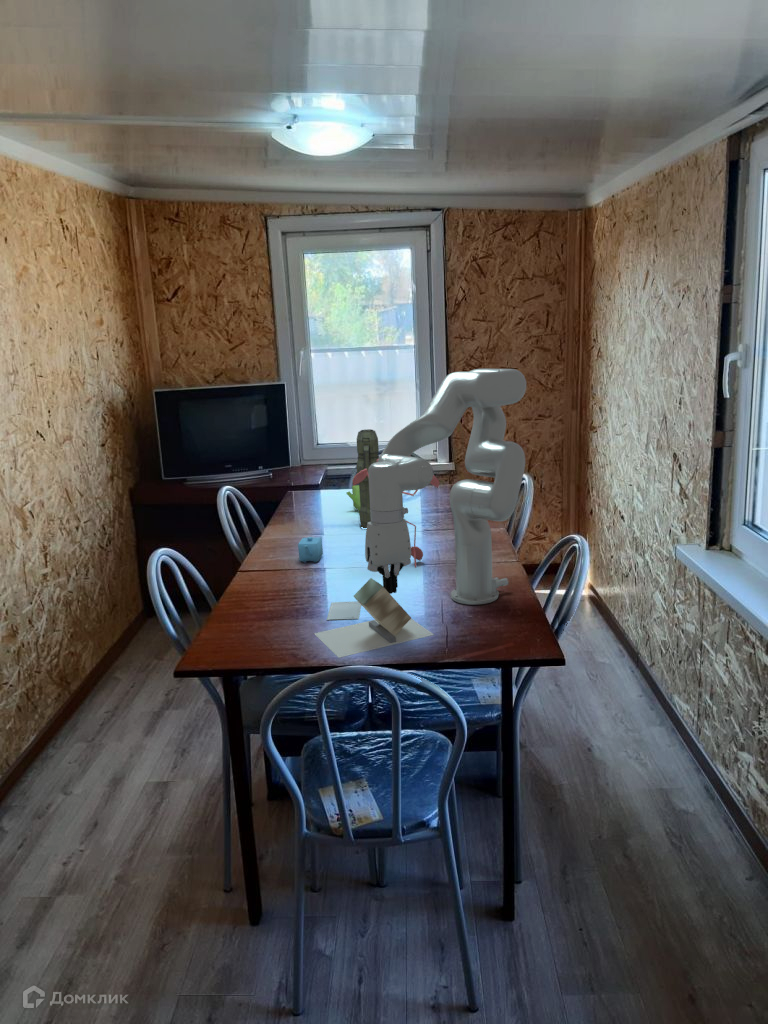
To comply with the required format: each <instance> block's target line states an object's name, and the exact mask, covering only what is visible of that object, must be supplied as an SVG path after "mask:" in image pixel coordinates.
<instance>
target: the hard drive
mask: <svg viewBox="0 0 768 1024" xmlns="http://www.w3.org/2000/svg"><path fill="white" fill-rule="evenodd" d="M362 607H363V606H362V605H361V604H360V603H359V602H358V601H357V600H356V601H334V602H331V603H330V606H329V610H328V613H327V617H326V622H329V621H333V622H334V621H350V620H351V621H352V620H353V621H354V620H356V621H357V620H360V614H361V608H362Z"/></svg>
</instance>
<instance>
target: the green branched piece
mask: <svg viewBox="0 0 768 1024" xmlns="http://www.w3.org/2000/svg"><path fill="white" fill-rule="evenodd" d="M351 490H352V491H350V490H349V491H347V492H346V495H347V496H348V497H349V498H350V499H351V500H352V504H353V505H352V506H353V507H354V508H356V510H357V509H358V510H359V511H360V492H359V484H357V485H355V486H353V485H351ZM359 511H358V512H359Z"/></svg>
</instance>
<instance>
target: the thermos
mask: <svg viewBox="0 0 768 1024" xmlns="http://www.w3.org/2000/svg"><path fill="white" fill-rule="evenodd" d="M356 451H357V452H356V453H357V460H356V461H357V462H356V474H357V473H359V472H360V471H362V470H364V469H367V471H368V469H369V466H370V465H371V464H373V463H376V462H377V459H379V457H380V455H379V452H380V451H379V438H378V435H377V432H376V430H374V429H361V430H359V431H358V432H357V436H356ZM358 485H359V492H360V511H358V512H359V513H358V514H359V521H360V522H359V523H360V528H361V527H363V528H367V523H368V522H371V514H370V495H369V478H368V476H366V478H365V479H364V480H363V481H362V482H360V483H358Z"/></svg>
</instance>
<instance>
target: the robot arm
mask: <svg viewBox="0 0 768 1024" xmlns="http://www.w3.org/2000/svg"><path fill="white" fill-rule="evenodd" d="M526 390H527V380H526V377H525V375H524V374H523V373H522V371H520V370H518V369H517V368H516V369H515V368H486V367H484V368H475V369H471V370H469V371H454V372H451V373H449V374H447V375H446V376H445V377H444V378H443V380H442V382H441V383H440V385H439V386H438V388H437V389H436V391H435V393H434V395H433V396H432V398H431V400H430V401H429V403H428V405H427V406H426V408H425V409H424V411H423V413H422V414H421V415H419V417H418V418H416V419H415V420H413V421H411V422H410V423H409V424H407V425H406V426H405V427H403V428H401V429H400V430H399V431H398V432H396V434H395V435H393V436H392V437H391V439H390V440H389V441H388V442H387V444H386V446H385V447H384V449H383V450H382V452H381V453H380V455H379V459H378V462H376V463H373V464H371V465H370V466H369V469H368V476H369V495H370V514H371V522H368V523H367V529H366V530H365V540H364V541H365V542H364V543H365V544H364V548H365V550H364V554H365V555H364V556H365V557H364V558H365V561H366V562H367V569H366V570H368V571H369V572H377V573H379V574H380V575H382V586H383V587H384V588H385V589H386V590H387V591H388V593H389V594H390V595H392V594H393V593H394V594H396V593H397V591H398V590H397V589H398V576H399V575H400V572H401V571H402V569H404V567H407V566H408V565H410V564H411V563H412V560H411V558H412V556H411V547H412V545H411V537H410V532H409V526H408V523H407V522H406V521H407V520H406V519H405V515H406V514H408V513H409V509H408V507H404V504H403V503H404V498H403V497H404V496H403V493H402V492H407V491H416V490H418V491H419V490H422V489H425V488H426V487H428V486H429V485H430V482H431V480H432V478H433V475H434V469H433V466H432V465H431V463H430V462H429V461H427V459H425V458H421V457H417V456H412V454H414V452H416V451H418V450H419V449H421V448H423V447H426V446H429V445H431V444H435V443H438V442H440V441H443V440H444V439H445V440H446V439H447V438H449V437H451V435H452V434H453V433H454V431H455V429H456V428H457V425H458V424H459V422H460V421H461V419H462V417H463V416H464V413H466V411H467V409H468V408H471V410H472V414H473V415H472V416H473V422H472V428H471V432H470V437H469V440H468V444H467V448H466V453H465V456H464V457H465V458H464V467H465V469H466V471H467V472H468V473H470V474H472V475H475V476H479V477H486V478H494V482H493V481H486V480H479V479H478V480H477V479H468V478H467V479H461V480H459V481H457V482H455V483H454V484H453V486H452V487H451V489H450V491H449V495H448V496H449V497H448V498H449V500H448V501H449V506H450V511H451V515H452V521H453V528H454V529H453V530H454V555H455V556H454V557H455V582H456V585H455V586H456V588H454V589H453V590H451V592H450V597H451V599H452V601H454V602H456V603H459V604H463V605H471V606H472V605H473V606H475V605H485V604H490V603H492V602H495V601H496V600H497V599H498V598H499V596H500V595H499V591H498V589H499V587H504V586H508V585H509V578H507V577H504V578H499V577H497V576H496V577H493V554H492V551H493V548H492V537H493V536H492V531H491V526H490V523H489V522H488V521H494V522H505V521H508V520H509V519H510V517H511V516H513V513H514V510H515V508H516V506H517V502H518V501H517V500H518V498H519V494H520V489H521V485H522V481H523V476H524V474H525V469H526V455H525V451H524V449H523V448H522V446H521V445H519V444H518V443H517V442H514V441H510V440H504V439H505V438H504V437H505V435H506V434H505V433H506V429H507V419H506V415H505V413H504V411H503V409H502V406H508V405H513V404H516V403H518V402H519V401H521V400H522V399H523V397H524V395H525V394H526V392H527V391H526ZM410 455H411V457H410Z"/></svg>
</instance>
